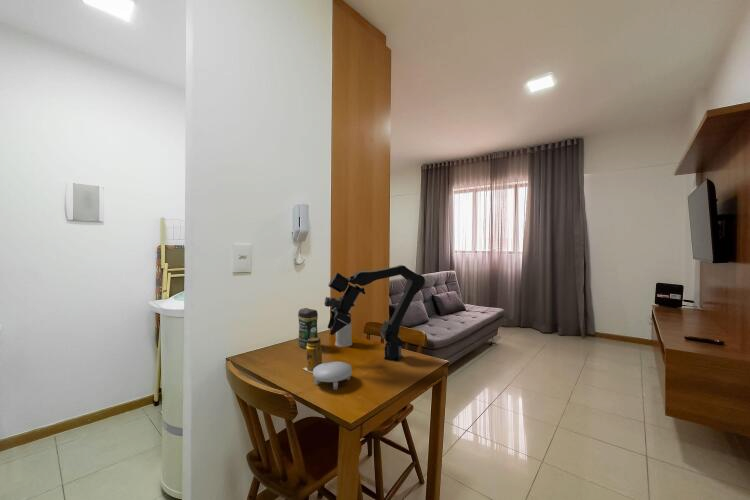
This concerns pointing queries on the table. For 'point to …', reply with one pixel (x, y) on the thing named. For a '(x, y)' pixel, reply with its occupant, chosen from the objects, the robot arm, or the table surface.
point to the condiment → (313, 353)
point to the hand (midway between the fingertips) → (329, 331)
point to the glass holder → (344, 336)
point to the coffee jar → (307, 325)
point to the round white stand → (332, 373)
